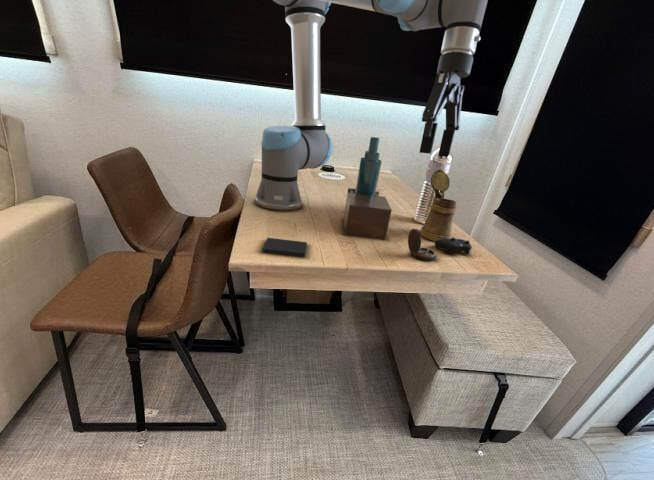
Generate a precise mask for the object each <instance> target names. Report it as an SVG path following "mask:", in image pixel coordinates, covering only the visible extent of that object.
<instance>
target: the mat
mask: <svg viewBox="0 0 654 480" xmlns="http://www.w3.org/2000/svg"><path fill="white" fill-rule="evenodd" d="M307 247H308V242H306V241H299V240H290V239H282V238H274V237H267V239H266V240H265V242H264V245H263V247H262V253H265V254H274V255H283V256H289V257H290V256H292V257H298V258H305V257H306V251H307Z"/></svg>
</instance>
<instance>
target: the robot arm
mask: <svg viewBox="0 0 654 480" xmlns="http://www.w3.org/2000/svg"><path fill="white" fill-rule="evenodd" d="M272 1H273V2H274V3H276V4H278V5H280V6H283V7H284V11H285V12H284V13H285V15H284V16H285V22H286V24H288V26H289V27H290V32H291V33H290V34H291V57H292V60H291V61H292V79H293V104H294V105H293V107H294V120H293V121H292V123H291V124H290V125H272V126H271V125H270V126H267V127H266V128H264V129H263V131H262V137H261V142H260V144H261V145H260V146H261V179H260V183H259V185H258V188H257V191H256V194H255V204H256V205H257V206H258V207H261V208H263V209H266V210H271V211H281V212H282V211H284V212H285V211H287V212H289V211H294V210H298V209H300V208H301V206H302V197H301V193H300V190H299V184H298V174H299V171H300V170H309V169H310V170H311V169H317V168H320V167H323V166H324V165H325V164H327V162H328V161H329V160H330V157H331V155H332V151H333V141H332V139H331V138H330V136H329V134H328V133H326V124H325V122H324V121H323V120H322V110H321V109H322V107H321V106H322V104H321V103H322V101H321V98H322V97H321V95H322V91H321V27H322V26H323V25H324V23H325V21H326V14H327V13H328V11H329V10H330V8H329V7H330V6H331V5H332V4H337V5H343V6H347V7H352V8H356V9H361V10H367V11H372V12H376V13H379V14H384V15H388V16H393V17H395V18H397V22H398V24H399V27H400V29H401V30H402V31H405V32H409V31H413V32H418V31H420V30H428V29H429V30H430V29H435V28H444V27H445V31H444V34H443V39H442V45H441V49H440V54H441V55H440V56H439V60H438V63H437V64H438V65H437V70H436V76H435V80H434V84H433V87H432V90H431V92H430V95H429V97H428V100H427V101H426V105H425V107H424V110H423V112H422V117H421V122H423V123H424V128H423V131H422V137H421V143H420V148H419V153H420V154H430V155H431V154H432V153H433V147H434V142H435V137H436V133H437V128H438V124H439V123H438V122H437V121H438V119H439V118H440V116H441V113H442V112H443V110H444V107H445V129H443V133H442V137H441V141H440V145H439V148H440V150H439V154H438V156H443V157H449V154H450V152H451V149H452V145H453V141H454V136H455V132H456V131H459V130H460V122H461V111H462V103H463V96H464V91H465V85H461V80H462V79H463V78H464V79H465V78H467V77H469V76H470V74H471V71H472V66H473V63H474V54H475V53H476V50H477V44H478V42H480V41H481V36H480V33H481V29H482V24H483V20H484V16H485V13H486V9H487V5H488V1H489V0H272Z"/></svg>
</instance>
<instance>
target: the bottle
mask: <svg viewBox="0 0 654 480" xmlns="http://www.w3.org/2000/svg"><path fill="white" fill-rule="evenodd" d="M379 144H380V138H379V137H374V136H371V137H370V139H369V145H368V150H366V151H364V155H363V157H361V158H360V160H359V166H358V173H357V178H356V185H355V189H356V190H355V193H357V194H365V195H373V196H375V193H376V191H377V187H378V182H379V177H380V172H381V167H382V160H381V159H380V152H378V150H379V149H378V148H379Z"/></svg>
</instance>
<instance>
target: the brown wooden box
mask: <svg viewBox="0 0 654 480" xmlns="http://www.w3.org/2000/svg"><path fill="white" fill-rule="evenodd" d="M347 192H348V191H347ZM346 199H347V202H346V201H345V205H346V208H345V207H344V216H343V227H344V235H345V236H352V237H362V238H368V239H369V238H370V239H379V240H386V237H387V234H388V233H387V232H388V228H389V225H390V220H391V215H392V211H393V209H392V208H391V206H390V204H389V201H388V200H387V198H386V196H380V195H379V196H373V195H365V194H357V193H349V192H348V195H347V194H346Z"/></svg>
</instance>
